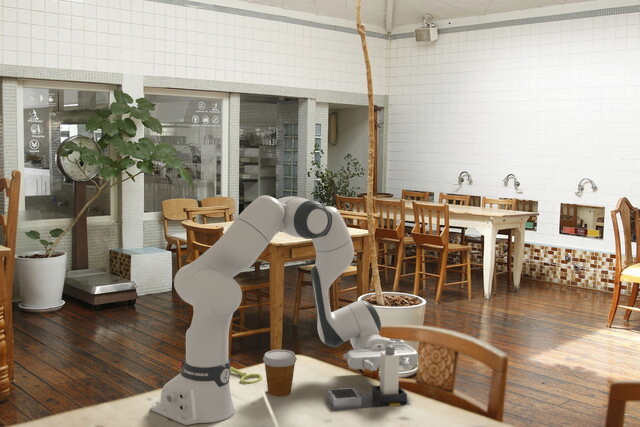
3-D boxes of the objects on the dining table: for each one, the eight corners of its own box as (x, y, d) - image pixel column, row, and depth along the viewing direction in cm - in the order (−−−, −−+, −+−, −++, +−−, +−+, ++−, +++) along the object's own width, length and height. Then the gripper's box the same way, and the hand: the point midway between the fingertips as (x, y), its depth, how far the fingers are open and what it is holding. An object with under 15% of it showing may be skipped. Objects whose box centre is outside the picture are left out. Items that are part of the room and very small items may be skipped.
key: (230, 372, 216) (230, 366, 216) (264, 379, 211) (265, 372, 210) (217, 379, 209) (217, 373, 209) (252, 387, 204) (252, 380, 204)
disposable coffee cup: (264, 388, 202) (264, 348, 200) (297, 389, 201) (297, 349, 200) (260, 401, 192) (260, 359, 191) (294, 402, 192) (295, 360, 190)
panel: (332, 414, 184) (332, 401, 184) (323, 400, 194) (323, 388, 193) (410, 407, 189) (410, 395, 189) (398, 394, 199) (398, 382, 198)
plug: (384, 401, 190) (385, 349, 189) (379, 396, 194) (380, 344, 192) (398, 400, 191) (399, 348, 189) (393, 395, 195) (394, 343, 193)
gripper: (341, 343, 202) (354, 358, 188) (408, 339, 206) (425, 353, 193) (341, 364, 202) (354, 380, 189) (407, 359, 207) (424, 375, 194)
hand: (390, 367), depth 191 cm, fingers open, 8 cm apart
